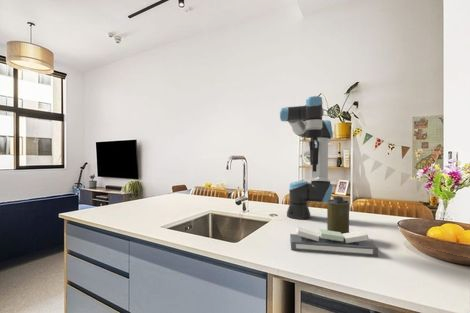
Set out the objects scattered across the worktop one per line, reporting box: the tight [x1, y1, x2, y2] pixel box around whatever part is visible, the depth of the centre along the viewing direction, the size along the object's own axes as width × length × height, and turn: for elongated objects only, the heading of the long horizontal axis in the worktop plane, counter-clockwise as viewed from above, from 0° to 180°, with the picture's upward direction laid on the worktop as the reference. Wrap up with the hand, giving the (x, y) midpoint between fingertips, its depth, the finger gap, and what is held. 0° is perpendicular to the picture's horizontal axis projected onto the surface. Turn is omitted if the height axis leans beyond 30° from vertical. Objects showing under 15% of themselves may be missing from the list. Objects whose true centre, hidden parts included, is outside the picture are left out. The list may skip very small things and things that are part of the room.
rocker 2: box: [342, 229, 370, 243], centre depth 100 cm, size 6×9×2 cm, turn 79°
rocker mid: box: [318, 228, 344, 241], centre depth 102 cm, size 6×9×2 cm, turn 79°
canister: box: [326, 195, 350, 234], centre depth 117 cm, size 11×10×20 cm
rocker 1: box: [295, 226, 320, 241], centre depth 104 cm, size 6×9×2 cm, turn 79°
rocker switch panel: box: [289, 233, 379, 257], centre depth 102 cm, size 10×34×5 cm, turn 79°
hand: (314, 178), depth 113 cm, fingers closed
